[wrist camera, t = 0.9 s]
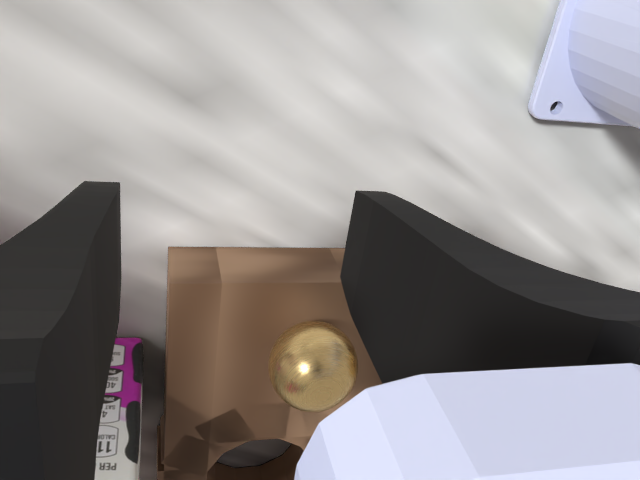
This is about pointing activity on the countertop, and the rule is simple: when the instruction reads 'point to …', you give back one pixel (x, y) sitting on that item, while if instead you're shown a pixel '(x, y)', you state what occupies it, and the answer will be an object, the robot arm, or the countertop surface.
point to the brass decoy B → (313, 366)
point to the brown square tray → (242, 354)
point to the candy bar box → (121, 414)
